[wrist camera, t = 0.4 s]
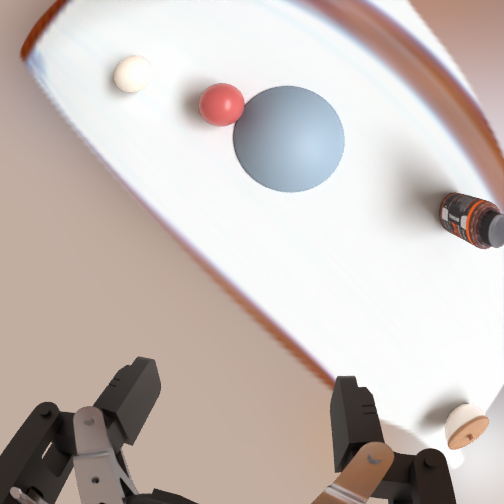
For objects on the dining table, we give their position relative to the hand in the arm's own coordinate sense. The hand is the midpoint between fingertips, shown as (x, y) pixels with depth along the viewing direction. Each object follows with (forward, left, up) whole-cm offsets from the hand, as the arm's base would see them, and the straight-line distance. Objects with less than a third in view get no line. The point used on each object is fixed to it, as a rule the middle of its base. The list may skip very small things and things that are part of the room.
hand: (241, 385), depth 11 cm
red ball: (-17, -5, -25) cm, 31 cm away
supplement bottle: (-3, +26, -28) cm, 39 cm away
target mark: (-12, +2, -28) cm, 31 cm away
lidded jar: (+42, +42, -28) cm, 66 cm away
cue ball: (-24, -18, -25) cm, 39 cm away
